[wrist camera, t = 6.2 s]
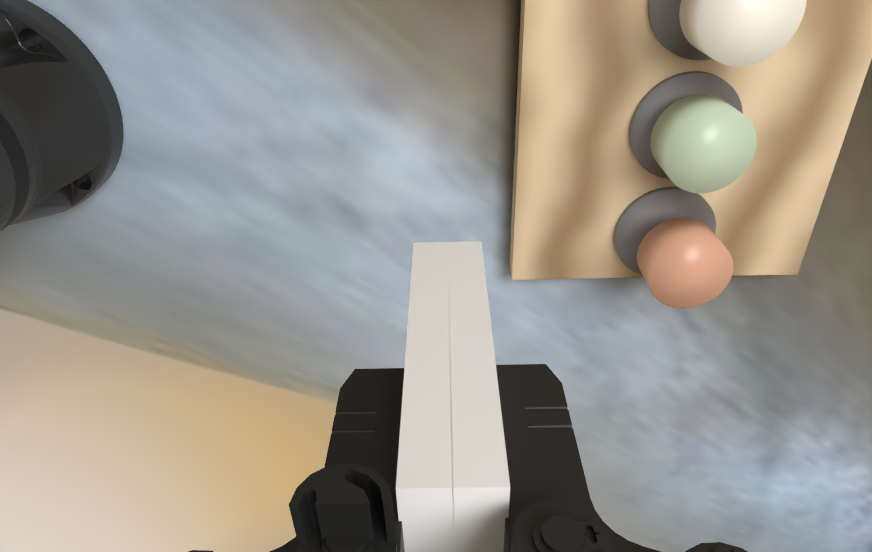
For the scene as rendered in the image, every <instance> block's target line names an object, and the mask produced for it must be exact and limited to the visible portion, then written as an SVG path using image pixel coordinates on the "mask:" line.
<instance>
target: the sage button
mask: <svg viewBox="0 0 872 552" xmlns="http://www.w3.org/2000/svg"><path fill="white" fill-rule="evenodd" d="M650 146H651V152H652V155H653V157H654V159H655V160H656V162H657V163H658V164H659V166H660V167H661V168H662V169H663V171H664V172H665V173H666V174H667V176H668V177H669V178H670V179H671V181H672V182H673V183H674V184H675V185H676V186H678V187H679V188H681V189H683V190H685V191H688V192H692V193H709V192H713V191H717V190H719V189H722V188H724V187H726V186H728V185H730V184H731V183H733V182H734V181H735V180H736V179H738V178H739V177H740V176H741V175H742V174H743V173H744V172H745V170H746V169H747V168H748V166H749V165H750V163H751V161H752V159H753V157H754V154H755V151H756V146H757V136H756V131H755V128H754V126H753V124H752V123H751V121H750V120H749V119H748V118H747V117H746V116H745V115H743V114H742V113H741V112H739V111H738V110H737V109H735V108H734V107H733V106H731V105H730V104H729V103H727V102H726V101H725V100H723V99H722V98H720V97H718V96H715V95H712V94H706V93H699V94H693V95H689V96H686V97H683V98H681V99H679V100H677V101H676V102H674V103H673V104H671V105H670V106H669V107H668V108H666V109H665V110H664V111H663V113H662V114H661V115H660V116H659V118H658V119H657V121H656V123H655V125H654V127H653V130H652V133H651V140H650Z"/></svg>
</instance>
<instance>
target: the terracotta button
mask: <svg viewBox="0 0 872 552" xmlns="http://www.w3.org/2000/svg"><path fill="white" fill-rule="evenodd" d="M637 263H638V266H639V269H640V271H641V273H642V275H643V277H644V278H645V280H646V282H647V284H648V286H649V288H650V290H651V292H652V294H653V295H654V297H655V298H656V299H657V300H658V301H660V302H661V303H663V304H665V305H667V306H670V307H674V308H691V307H696V306H699V305H702V304H704V303H706V302H709V301H710V300H712V299H714V298H715V297H716V296H718V295H719V294H720V293H721V292H722V291H723V290H724V289H725V287H726V286H727V285H728V283H729V281H730V279H731V277H732V274H733V259H732V256H731V254H730V252H729V251H728V250H727V248H726V247H725V246H724V245H723V243H722V242H721V241H720V240H719V238H718V237H717V236H716V235H715V233H714V232H713V231H712V230H711V228H710V227H709V226H708V225H707V224H705V223H704V222H702V221H700V220H698V219H694V218H689V217H680V218H674V219H670V220H667V221H665V222H662V223H661V224H659V225H657V226H656V227H654V228H653V229H652V230H650V231H649V232H648V233H647V234H646V236H645V237H644V238H643V240H642V241H641V243H640V245H639V248H638V252H637Z"/></svg>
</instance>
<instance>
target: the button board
mask: <svg viewBox="0 0 872 552" xmlns="http://www.w3.org/2000/svg"><path fill="white" fill-rule="evenodd" d="M680 4H681V0H521V16H520V39H519V61H518V83H517V106H516V128H515V151H514V173H513V196H512V218H511V241H510V263H509V267H510V273H511V278H512V280H527V279H579V278H632V277H643V275H642V273H641V271H640V269H639V266H638V263H637V252H638V248H639V245H640V243H641V241H642V240H643V238H644V237H645V236H646V234H647V233H648V232H649V231H650V230H652V229H653V228H654V227H656V226H657V225H659V224H661V223H662V222H665V221H667V220H670V219H674V218H680V217H689V218H694V219H698V220H700V221H702V222H704V223H705V224H707V225H708V226H709V227H710V228H711V230H712V231H713V232H714V233H715V235H716V236H717V237H718V238H719V240H720V241H721V242H722V243H723V245H724V246H725V247H726V248H727V250H728V251H729V252H730V254H731V256H732V259H733V274H732V276H736V275H789V274H798V271H799V268H800V265H801V262H802V260H803V257H804V254H805V251H806V248H807V245H808V242H809V239H810V236H811V233H812V230H813V227H814V225H815V222H816V219H817V216H818V213H819V210H820V207H821V204H822V201H823V198H824V195H825V192H826V190H827V187H828V184H829V181H830V178H831V175H832V172H833V169H834V166H835V163H836V160H837V158H838V155H839V152H840V149H841V146H842V143H843V140H844V137H845V134H846V131H847V128H848V125H849V123H850V120H851V117H852V114H853V111H854V108H855V105H856V102H857V99H858V96H859V93H860V90H861V88H862V85H863V82H864V79H865V76H866V73H867V70H868V67H869V64H870V61H871V58H872V0H807V2H806V8H805V12H804V15H803V18H802V21H801V23H800V25H799V27H798V29H797V30H796V32H795V34H794V35H793V36H792V38H791V39H790V40H789V41H788V43H787V44H786V45H785V46H784V47H783V48H782V49H781V50H779V51H778V52H777V53H776V54H774V55H773V56H771V57H770V58H768V59H766V60H764V61H762V62H760V63H757V64H754V65H750V66H745V67H732V66H727V65H724V64H721V63H719V62H717V61H715V60H714V59H712V58H711V57H709V56H707V55H706V54H704V53H703V52H701V51H699V50H698V49H696V48H695V47H694V46H692V45H691V44H690V43H689V42H688V41H687V39H686V38H685V36H684V34H683V32H682V29H681V25H680V19H679V11H680ZM699 93H706V94H712V95H715V96H718V97H720V98H722V99H723V100H725V101H726V102H727V103H729V104H730V105H731V106H733V107H734V108H735V109H737V110H738V111H739V112H741V113H742V114H743V115H745V116H746V117H747V118H748V119H749V120H750V121H751V123H752V124H753V126H754V128H755V131H756V136H757V146H756V151H755V154H754V157H753V159H752V161H751V163H750V165H749V166H748V168H747V169H746V170H745V172H744V173H743V174H742V175H741V176H740V177H739V178H738V179H736V180H735V181H734V182H733V183H731V184H730V185H728V186H726V187H724V188H722V189H719V190H717V191H713V192H709V193H692V192H688V191H685V190H683V189H681V188H679V187H678V186H676V185H675V184H674V183H673V182H672V181H671V179H670V178H669V177H668V176H667V174H666V173H665V172H664V171H663V169H662V168H661V167H660V166H659V164H658V163H657V162H656V160H655V159H654V157H653V155H652V152H651V146H650V140H651V133H652V130H653V127H654V125H655V123H656V121H657V119H658V118H659V116H660V115H661V114H662V113H663V111H664V110H665V109H666V108H668V107H669V106H670V105H671V104H673V103H674V102H676V101H677V100H679V99H681V98H683V97H686V96H689V95H693V94H699Z"/></svg>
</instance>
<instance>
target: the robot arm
mask: <svg viewBox="0 0 872 552" xmlns="http://www.w3.org/2000/svg"><path fill="white" fill-rule="evenodd" d="M122 143H123V123H122V116H121V111H120V107H119V103H118V100H117V97H116V94H115V92H114V90H113V87H112V85H111V83H110V81H109V79H108V77H107V75H106V73H105V72H104V70H103V68H102V67H101V65H100V64H99V62H98V61H97V59H96V58H95V57H94V55H93V54H92V53H91V52H90V50H89V49H88V48H87V47H86V46H85V44H84V43H83V42H82V41H81V40H80V39H79V38H78V37H77V36H76V35H75V34H74V33H73V32H72V31H71V30H70V29H68V28H67V27H66V26H65V25H64V24H63V23H61V22H60V21H59V20H57V19H56V18H55V17H53V16H52V15H50V14H49V13H48V12H46V11H44V10H43V9H41V8H40V7H38V6H36V5H34V4H32V3H31V2H29V1H27V0H0V231H1V230H3V229H4V228H5V227H7V226H8V225H11V224H15V223H19V222H23V221H27V220H31V219H35V218H40V217H44V216H48V215H52V214H56V213H59V212H62V211H65V210H68V209H70V208H72V207H74V206H76V205H78V204H79V203H81V202H82V201H84V200H85V199H87V198H88V197H89V196H90V195H91V194H92V193H94V192H95V191H96V190H97V189H98V188H99V187H100V186H102V185H103V184H104V183H105V182H106V180H107V179H108V178H109V177H110V175H111V174H112V173H113V171H114V169H115V167H116V165H117V163H118V160H119V157H120V154H121V150H122ZM289 507H290V511H291V515H292V520H293V524H294V528H295V532H296V537H295V538H294V539H292V540H291V541H289V542H288V543H287V544H285V545H283V546H282V547H280V548H277V549H275V550H273V551H270V552H660V551H657V550H653V549H650V548H646V547H643V546H641V545H638V544H635V543H633V542H630V541H628V540H626V539H625V538H623V537H622V536H620V535H618V534H617V533H615V532H614V531H613V530H612V529H611V528H609V527H608V526H607V525H606V524H605V523H604V522H603V521H602V519H601V518H600V517H599V515H598V514H597V512H596V511H595V509H594V507H593V504H592V502H591V499H590V496H589V492H588V488H587V484H586V480H585V476H584V471H583V467H582V463H581V459H580V455H579V451H578V447H577V443H576V439H575V435H574V431H573V429H572V423H571V419H570V415H569V411H568V410H567V402H566V398H565V394H564V390H563V386H562V383H561V382H560V381H559V379H558V378H557V377H556V376H555V375H554V373H553V372H552V371H551V370H550V369H549V367H548V366H547V365H546V364H526V365H496V362H495V353H494V345H493V337H492V328H491V320H490V311H489V303H488V294H487V286H486V277H485V269H484V260H483V252H482V243H481V241H480V242H431V243H414V245H413V259H412V272H411V286H410V300H409V313H408V327H407V341H406V354H405V368H390V369H355V370H354V371H353V373H352V374H351V375H350V376H349V378H348V379H347V380H346V382H345V383H344V384H343V386H342V387H341V388H340V392H339V397H338V402H337V407H336V415H335V418H334V422H333V428H332V434H331V438H330V443H329V448H328V453H327V458H326V463H325V468H323V469H321V470H319V471H317V472H315V473H313V474H311V475H310V476H309V477H308V478H306V480H305V481H303V482H302V483H301V484H300V485H299V486H298V487H297V489H296V491H295V493H294V495H293V497H292V499H291V501H290V503H289ZM189 552H213V551H197V550H193V551H189ZM686 552H747V551H745V550H744V549H742V548H739V547H735V546H732V545H728V544H724V543H721V542H718V543H701V544H699V545H697V546H695V547H693V548H691V549H689V550H687V551H686Z"/></svg>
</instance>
